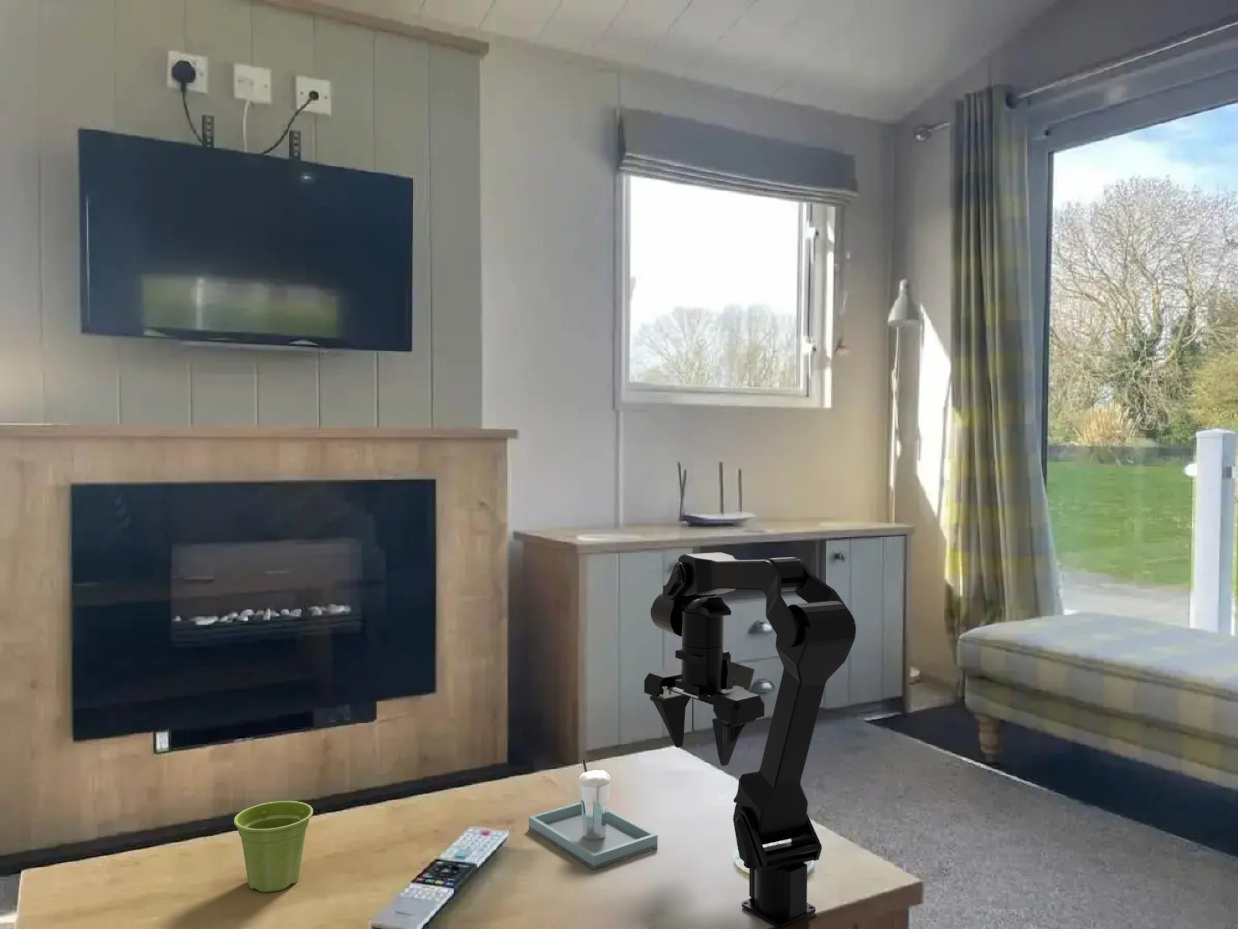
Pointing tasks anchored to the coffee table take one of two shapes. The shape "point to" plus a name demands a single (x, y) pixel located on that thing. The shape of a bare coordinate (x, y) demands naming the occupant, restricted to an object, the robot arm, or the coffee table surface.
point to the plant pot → (273, 842)
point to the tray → (615, 846)
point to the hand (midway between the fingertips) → (701, 756)
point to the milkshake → (594, 802)
